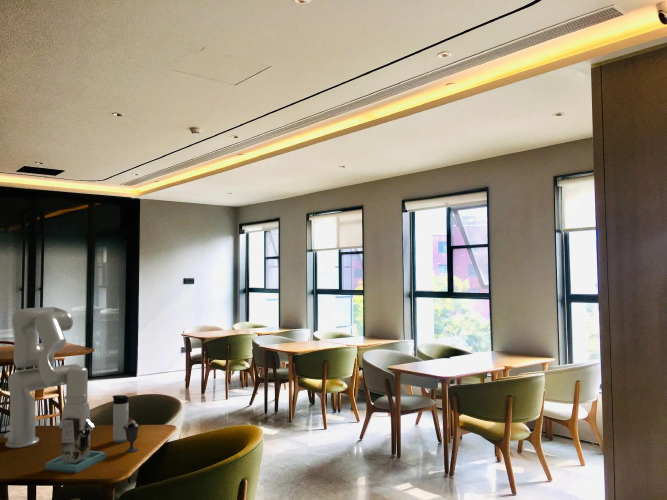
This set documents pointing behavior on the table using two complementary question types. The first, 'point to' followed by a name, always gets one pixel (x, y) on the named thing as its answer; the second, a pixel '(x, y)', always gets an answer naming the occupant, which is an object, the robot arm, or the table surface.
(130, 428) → the sundae
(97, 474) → the table surface
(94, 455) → the tray
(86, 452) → the coffee box
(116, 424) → the travel mug
